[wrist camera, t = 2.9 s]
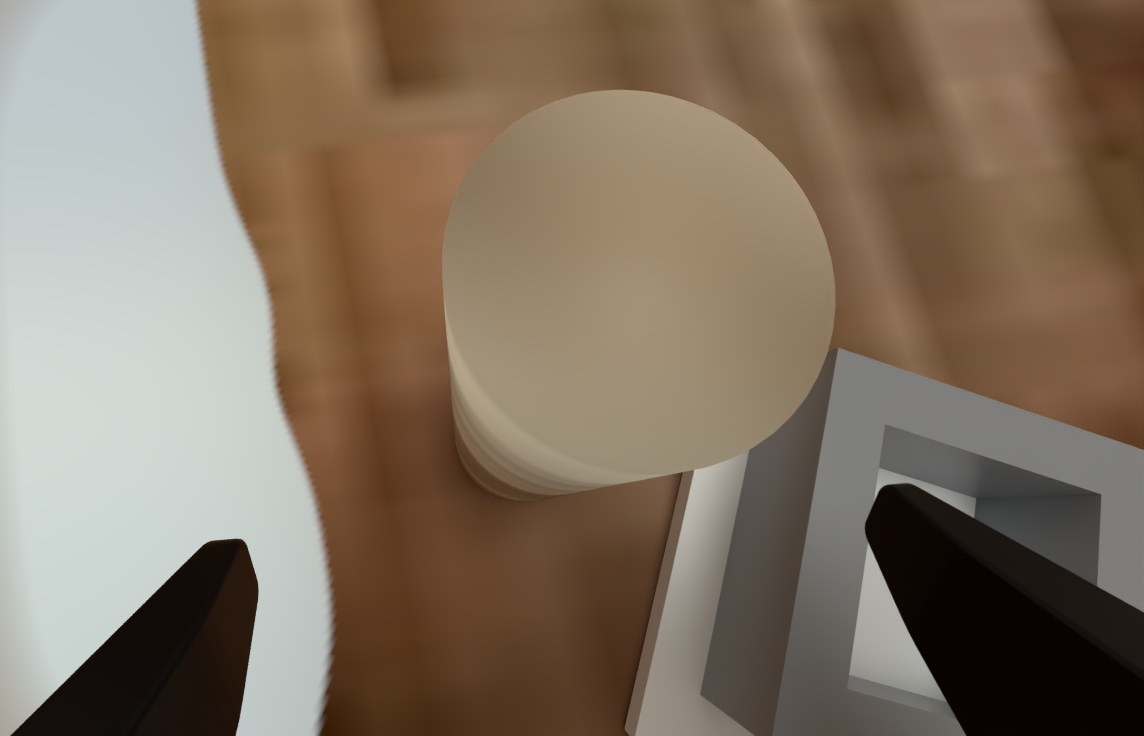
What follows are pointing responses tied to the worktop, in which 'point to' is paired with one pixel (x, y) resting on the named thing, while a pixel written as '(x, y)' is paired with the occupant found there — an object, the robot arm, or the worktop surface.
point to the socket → (859, 554)
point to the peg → (627, 296)
